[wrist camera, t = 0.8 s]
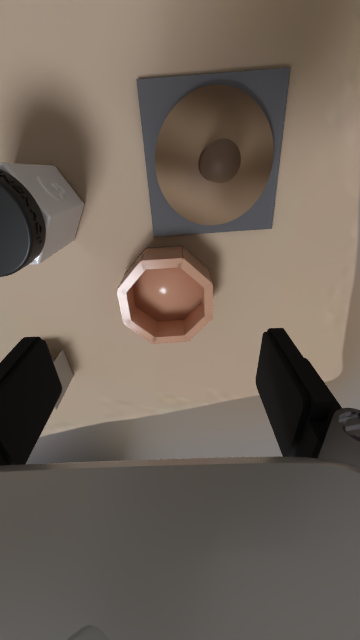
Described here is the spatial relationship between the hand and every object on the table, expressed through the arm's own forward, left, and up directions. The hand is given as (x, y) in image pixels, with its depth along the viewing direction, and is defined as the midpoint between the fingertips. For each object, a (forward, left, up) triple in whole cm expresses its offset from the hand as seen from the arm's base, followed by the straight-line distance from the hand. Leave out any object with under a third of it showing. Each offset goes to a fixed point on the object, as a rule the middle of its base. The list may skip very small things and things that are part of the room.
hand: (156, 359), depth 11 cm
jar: (-4, -14, -23) cm, 27 cm away
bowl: (+7, -1, -23) cm, 24 cm away
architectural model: (+19, -19, -24) cm, 35 cm away
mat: (-7, +5, -23) cm, 25 cm away
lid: (-7, +5, -22) cm, 24 cm away
